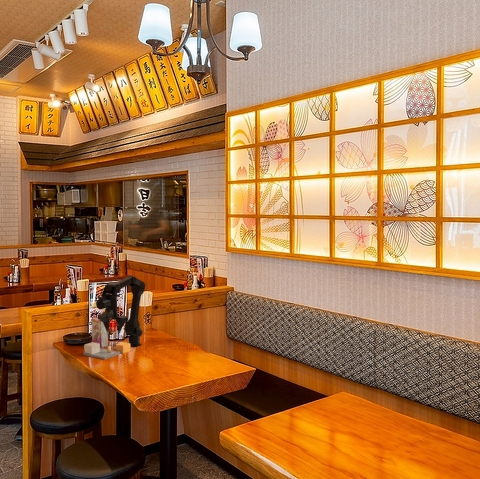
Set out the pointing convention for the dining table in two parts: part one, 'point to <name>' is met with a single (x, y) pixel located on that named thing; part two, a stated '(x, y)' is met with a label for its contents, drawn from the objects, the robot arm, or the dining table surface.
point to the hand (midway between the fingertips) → (113, 332)
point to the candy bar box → (99, 333)
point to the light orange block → (123, 347)
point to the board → (99, 351)
